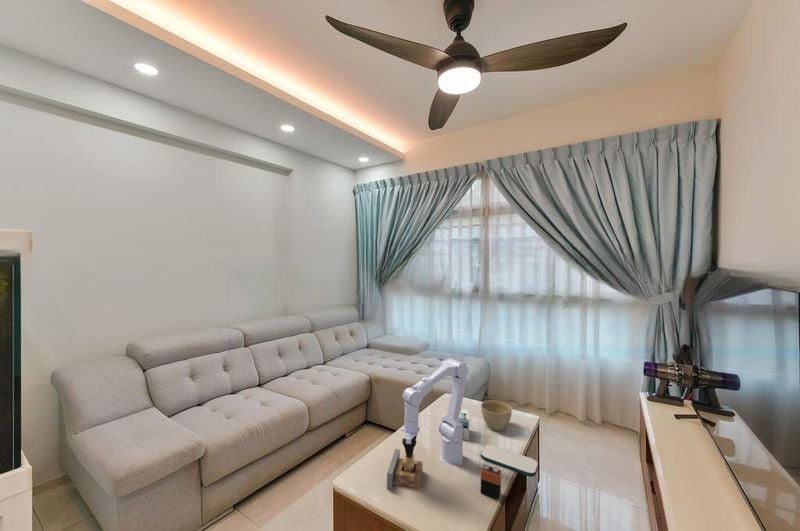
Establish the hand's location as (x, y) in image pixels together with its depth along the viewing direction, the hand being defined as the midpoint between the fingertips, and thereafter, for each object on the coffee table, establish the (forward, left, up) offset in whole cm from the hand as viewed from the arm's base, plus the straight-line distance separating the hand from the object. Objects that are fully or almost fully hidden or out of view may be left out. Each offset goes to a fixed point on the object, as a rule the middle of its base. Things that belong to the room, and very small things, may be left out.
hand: (410, 451), depth 128 cm
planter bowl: (-40, -50, -11) cm, 64 cm away
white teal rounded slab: (-42, -20, -11) cm, 47 cm away
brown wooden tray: (0, +1, -10) cm, 10 cm away
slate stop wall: (+7, +1, -10) cm, 12 cm away
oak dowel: (0, +1, -9) cm, 9 cm away
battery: (-32, +2, -11) cm, 33 cm away
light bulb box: (-22, -38, -11) cm, 45 cm away
